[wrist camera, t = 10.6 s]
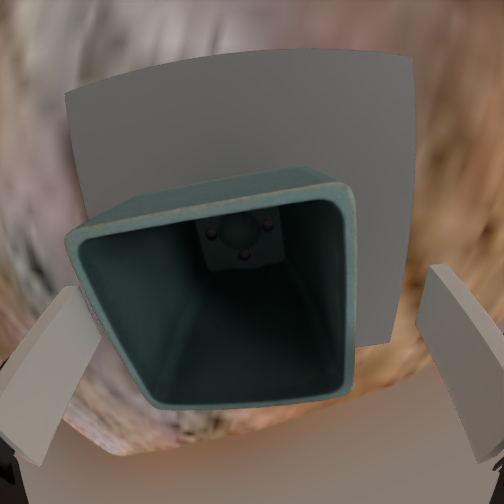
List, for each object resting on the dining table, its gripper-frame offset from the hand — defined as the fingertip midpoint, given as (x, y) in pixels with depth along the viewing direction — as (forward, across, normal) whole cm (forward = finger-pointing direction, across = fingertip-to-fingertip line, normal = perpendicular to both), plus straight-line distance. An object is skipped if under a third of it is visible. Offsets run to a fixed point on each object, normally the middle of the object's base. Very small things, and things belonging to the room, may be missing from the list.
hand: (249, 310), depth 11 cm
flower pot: (+8, -1, 0) cm, 8 cm away
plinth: (+12, 0, 0) cm, 12 cm away
